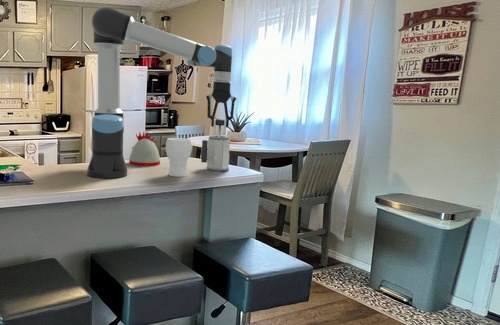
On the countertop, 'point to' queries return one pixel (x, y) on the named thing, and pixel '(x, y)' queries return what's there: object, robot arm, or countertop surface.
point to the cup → (178, 155)
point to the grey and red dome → (144, 152)
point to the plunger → (220, 123)
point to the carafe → (216, 153)
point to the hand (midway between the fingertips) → (219, 134)
